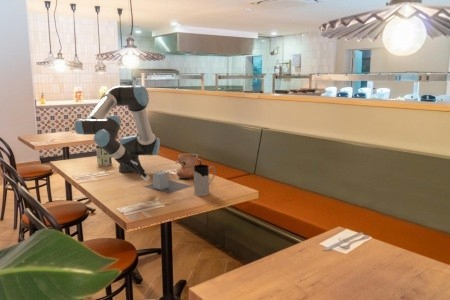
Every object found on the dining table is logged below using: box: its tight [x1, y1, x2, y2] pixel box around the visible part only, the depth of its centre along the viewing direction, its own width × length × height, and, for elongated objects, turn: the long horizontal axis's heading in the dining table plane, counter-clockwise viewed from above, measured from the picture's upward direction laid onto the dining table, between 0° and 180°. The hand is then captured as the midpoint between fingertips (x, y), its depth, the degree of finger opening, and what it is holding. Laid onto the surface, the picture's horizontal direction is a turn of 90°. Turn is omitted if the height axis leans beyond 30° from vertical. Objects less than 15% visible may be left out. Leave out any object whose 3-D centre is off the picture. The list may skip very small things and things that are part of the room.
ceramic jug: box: [174, 153, 203, 180], centre depth 236 cm, size 18×14×14 cm
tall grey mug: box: [193, 164, 216, 197], centre depth 204 cm, size 9×14×15 cm, turn 135°
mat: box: [143, 179, 193, 194], centre depth 216 cm, size 22×18×1 cm
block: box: [152, 170, 169, 190], centre depth 211 cm, size 6×6×9 cm
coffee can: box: [95, 144, 113, 167], centre depth 274 cm, size 10×10×14 cm
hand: (148, 179), depth 204 cm, fingers closed
